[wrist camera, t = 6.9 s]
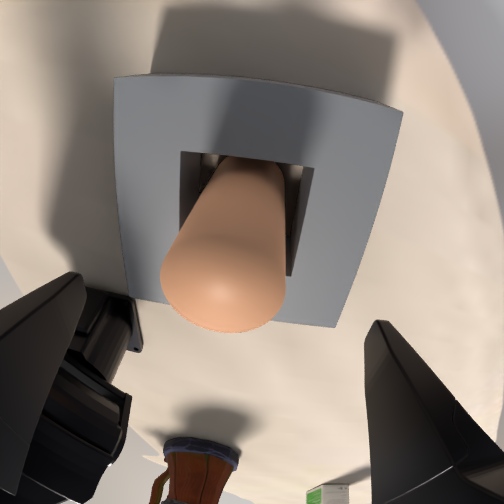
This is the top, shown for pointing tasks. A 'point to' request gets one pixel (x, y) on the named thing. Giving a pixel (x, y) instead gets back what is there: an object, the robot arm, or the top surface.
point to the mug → (194, 471)
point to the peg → (231, 250)
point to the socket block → (257, 147)
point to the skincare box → (328, 494)
